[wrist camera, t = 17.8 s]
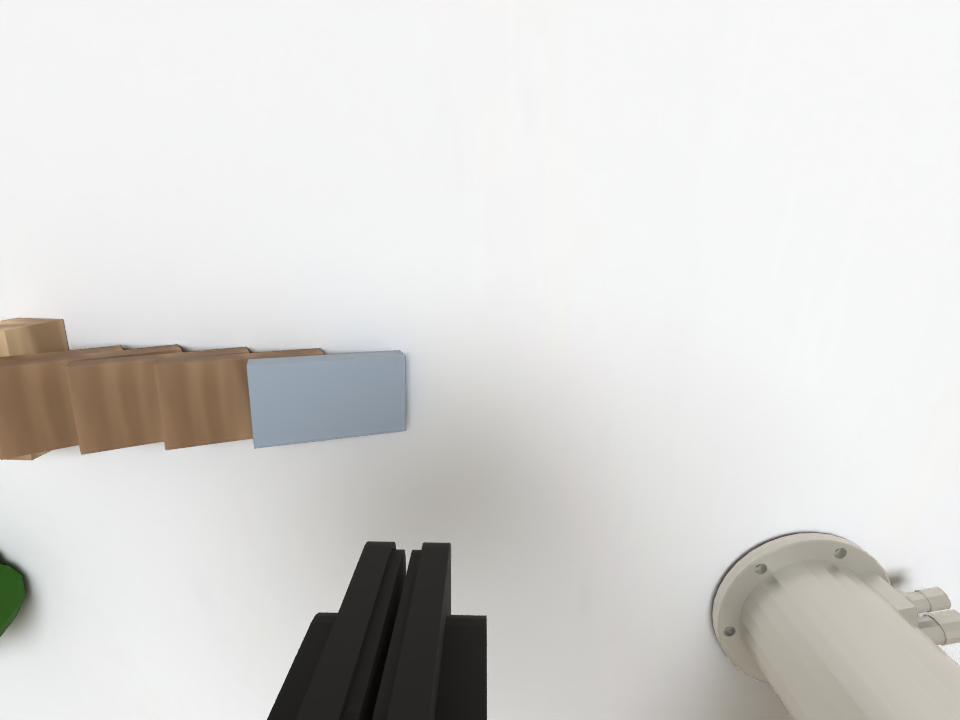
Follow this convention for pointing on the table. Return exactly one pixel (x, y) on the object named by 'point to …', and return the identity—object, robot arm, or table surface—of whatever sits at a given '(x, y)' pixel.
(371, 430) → the blue grey rectangular block
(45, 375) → the walnut tile
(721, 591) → the robot arm
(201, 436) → the walnut tile
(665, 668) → the table surface
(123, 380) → the walnut tile
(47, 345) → the oak end block
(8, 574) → the bell pepper
